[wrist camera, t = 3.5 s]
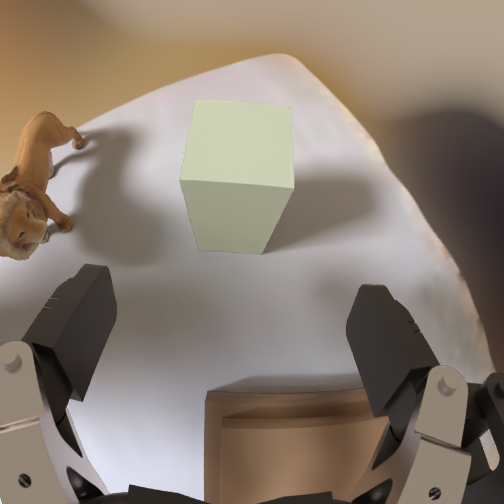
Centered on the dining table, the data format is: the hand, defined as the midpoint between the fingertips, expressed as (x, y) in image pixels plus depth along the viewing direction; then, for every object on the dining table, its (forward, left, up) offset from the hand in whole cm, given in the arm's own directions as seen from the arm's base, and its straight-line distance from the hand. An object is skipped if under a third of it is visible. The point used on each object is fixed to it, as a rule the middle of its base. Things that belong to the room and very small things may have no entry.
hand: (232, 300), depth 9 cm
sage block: (0, +7, -11) cm, 13 cm away
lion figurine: (-15, +8, -11) cm, 20 cm away
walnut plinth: (+6, -13, -11) cm, 18 cm away
